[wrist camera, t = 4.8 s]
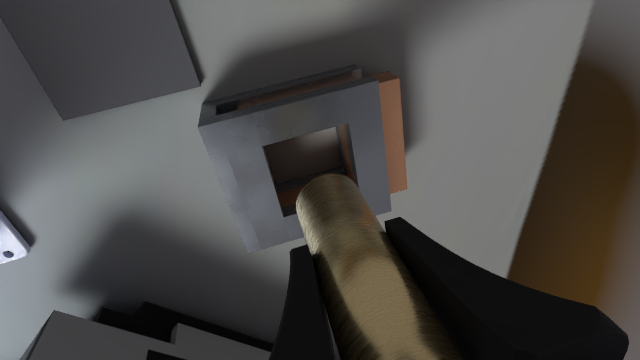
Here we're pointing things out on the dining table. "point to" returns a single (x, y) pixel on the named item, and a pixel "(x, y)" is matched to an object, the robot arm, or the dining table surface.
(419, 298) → the brass peg
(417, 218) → the dining table surface
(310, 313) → the robot arm
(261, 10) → the dining table surface
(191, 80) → the rubber mat
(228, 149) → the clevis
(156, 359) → the game console
